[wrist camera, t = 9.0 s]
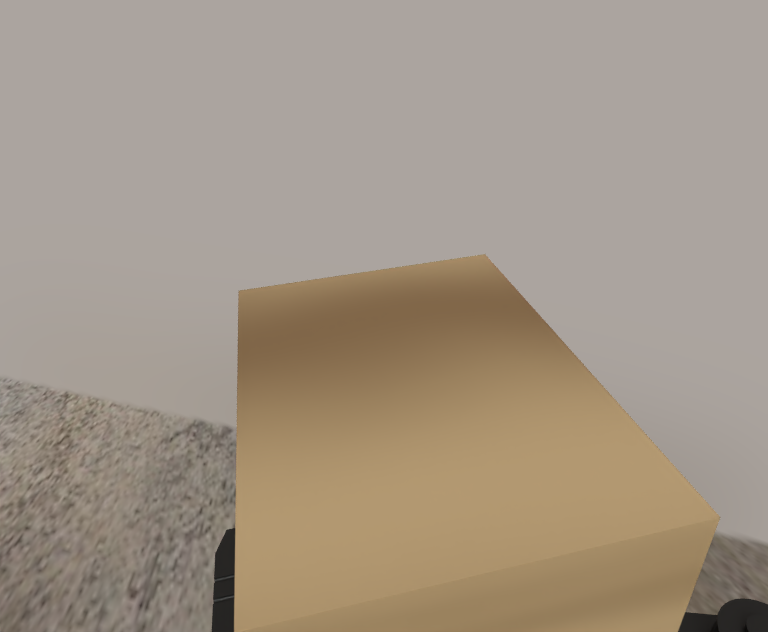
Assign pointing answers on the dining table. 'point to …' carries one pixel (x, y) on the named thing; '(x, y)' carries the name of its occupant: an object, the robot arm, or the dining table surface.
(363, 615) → the wooden block
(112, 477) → the dining table surface
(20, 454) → the dining table surface
